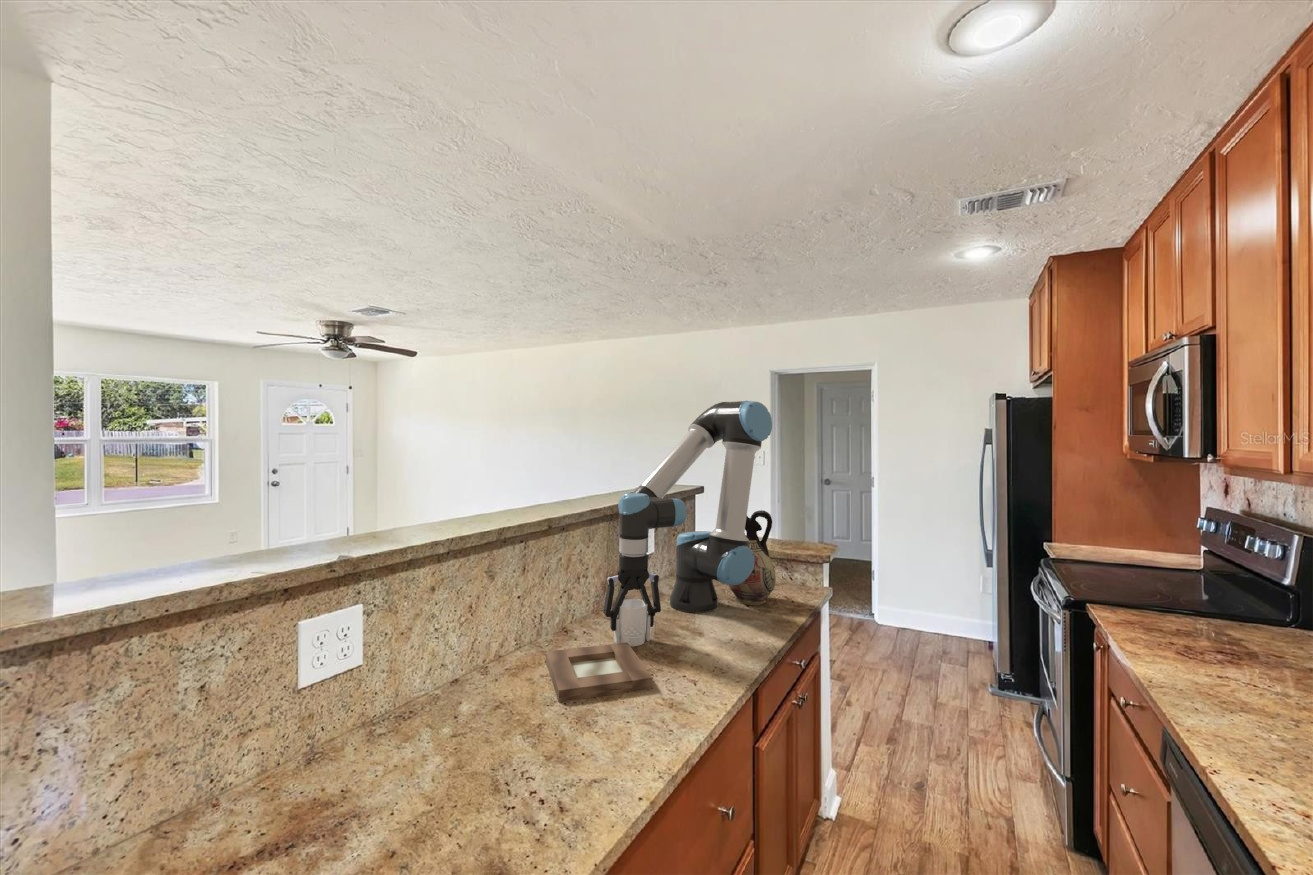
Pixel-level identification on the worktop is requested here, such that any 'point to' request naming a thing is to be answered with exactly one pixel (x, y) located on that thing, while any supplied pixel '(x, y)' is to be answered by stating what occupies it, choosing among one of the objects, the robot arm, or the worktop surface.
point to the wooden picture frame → (596, 671)
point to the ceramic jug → (757, 564)
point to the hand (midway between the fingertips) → (631, 640)
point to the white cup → (633, 622)
